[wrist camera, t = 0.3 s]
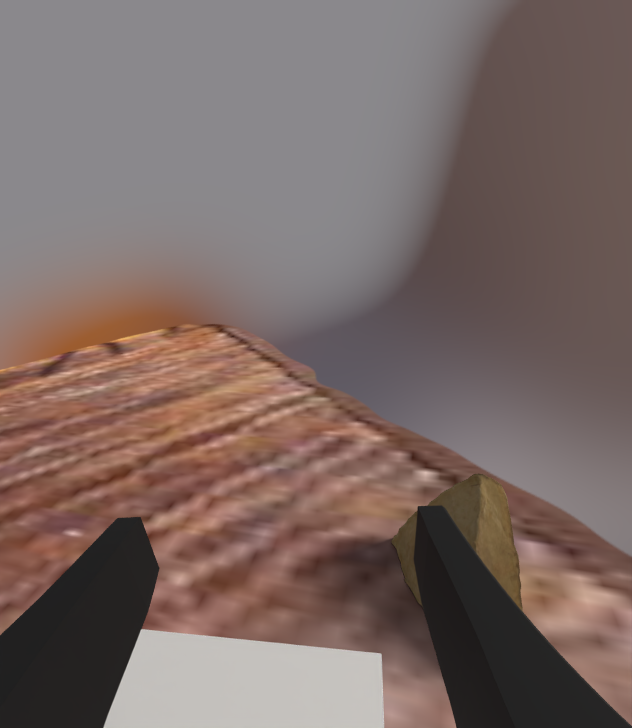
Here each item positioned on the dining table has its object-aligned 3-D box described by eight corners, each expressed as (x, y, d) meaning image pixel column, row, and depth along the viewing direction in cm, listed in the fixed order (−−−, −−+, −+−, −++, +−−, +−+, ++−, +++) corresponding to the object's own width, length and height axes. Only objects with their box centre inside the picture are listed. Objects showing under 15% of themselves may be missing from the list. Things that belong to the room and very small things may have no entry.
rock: (578, 704, 22) (545, 535, 29) (506, 634, 19) (490, 465, 26) (408, 690, 28) (417, 553, 36) (333, 635, 25) (360, 497, 32)
